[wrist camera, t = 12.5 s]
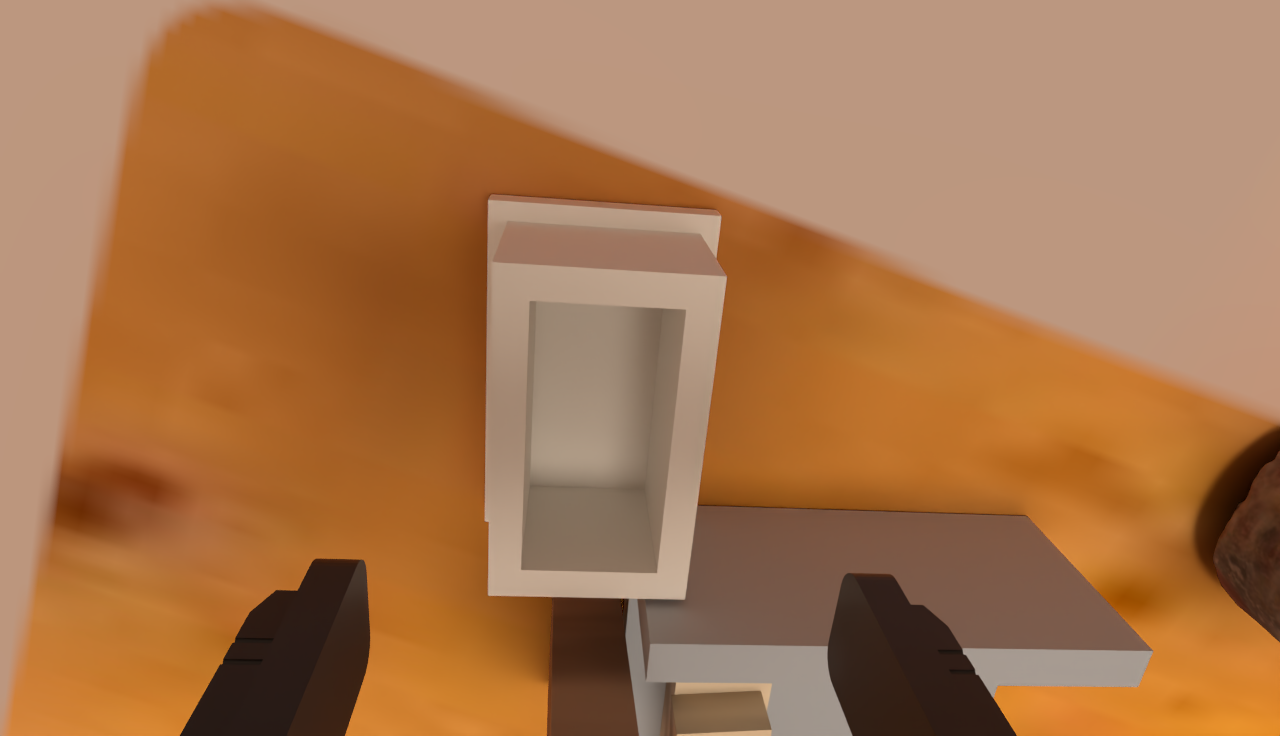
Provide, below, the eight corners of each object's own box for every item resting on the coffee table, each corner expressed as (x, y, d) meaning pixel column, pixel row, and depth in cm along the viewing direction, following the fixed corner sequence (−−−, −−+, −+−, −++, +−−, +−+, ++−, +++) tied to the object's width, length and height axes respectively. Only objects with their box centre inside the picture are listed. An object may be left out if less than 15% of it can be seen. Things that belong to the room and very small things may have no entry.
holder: (491, 194, 21) (468, 236, 16) (716, 209, 21) (753, 255, 17) (487, 506, 24) (467, 611, 20) (679, 513, 25) (701, 615, 21)
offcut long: (675, 607, 25) (681, 640, 24) (768, 608, 25) (779, 642, 24) (650, 809, 28) (654, 849, 27) (732, 809, 29) (740, 848, 27)
